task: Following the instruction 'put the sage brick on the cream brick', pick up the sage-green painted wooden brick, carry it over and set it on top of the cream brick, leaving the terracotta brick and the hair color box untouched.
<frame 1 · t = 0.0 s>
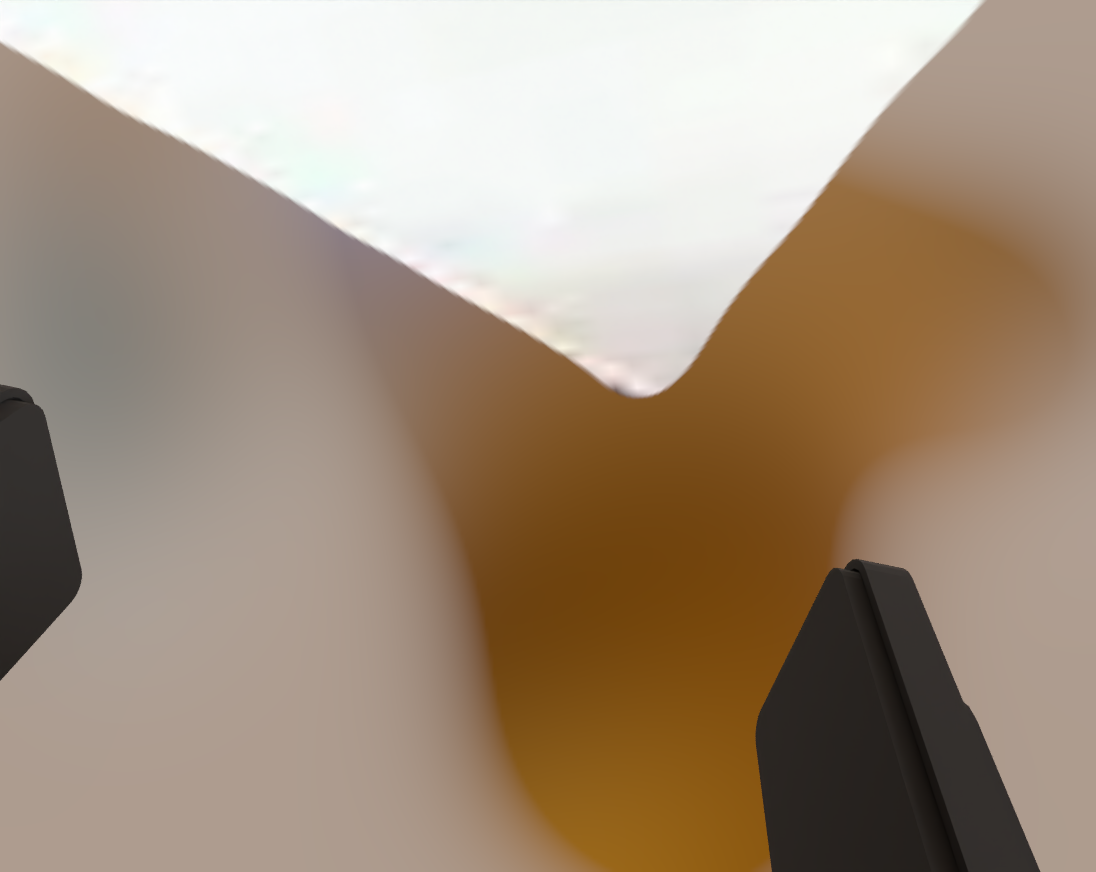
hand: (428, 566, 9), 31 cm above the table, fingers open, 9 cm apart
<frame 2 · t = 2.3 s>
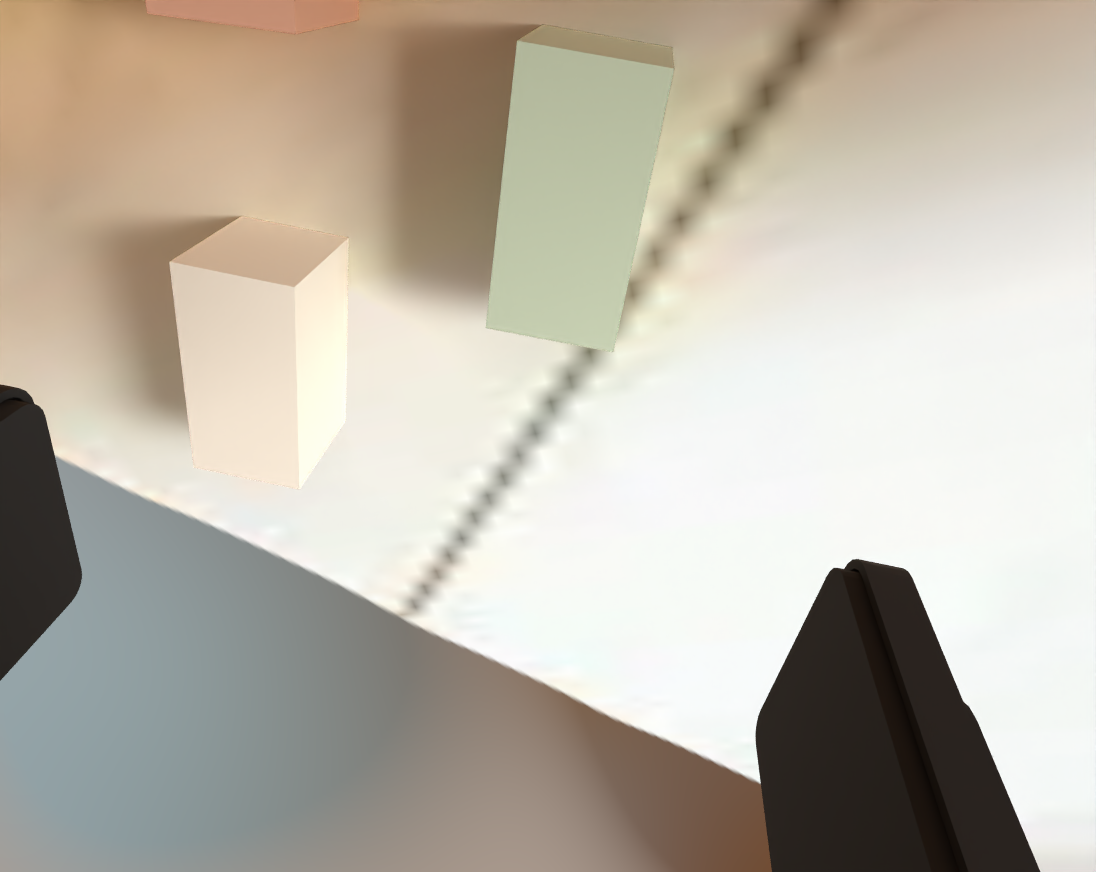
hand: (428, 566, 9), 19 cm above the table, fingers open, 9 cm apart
cream brick: (298, 324, 30), on the table
sage brick: (585, 168, 25), on the table
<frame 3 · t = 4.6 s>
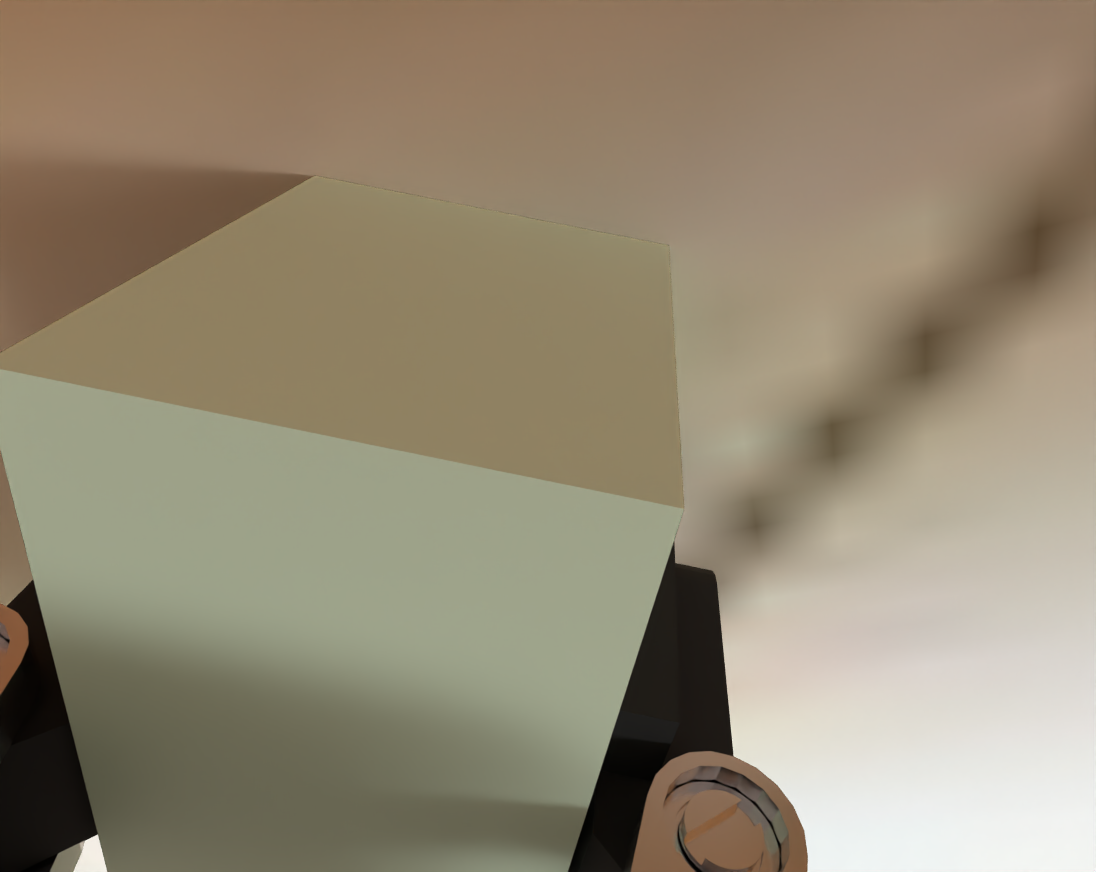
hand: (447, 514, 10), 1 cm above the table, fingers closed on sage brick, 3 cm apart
sage brick: (456, 496, 11), on the table, touching gripper
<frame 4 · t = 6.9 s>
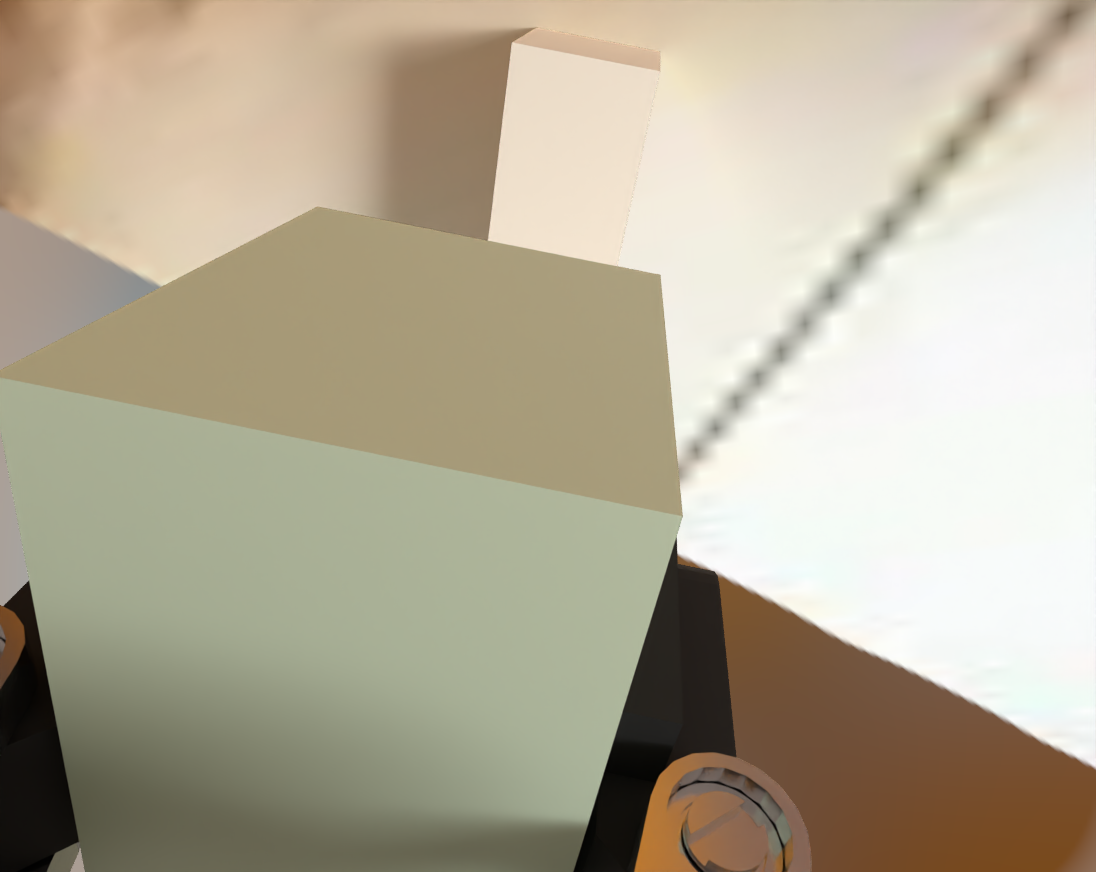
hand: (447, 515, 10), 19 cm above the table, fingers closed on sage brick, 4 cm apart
cream brick: (576, 166, 27), on the table
sage brick: (450, 525, 11), point 19 cm above the table, tilted 5°, touching gripper
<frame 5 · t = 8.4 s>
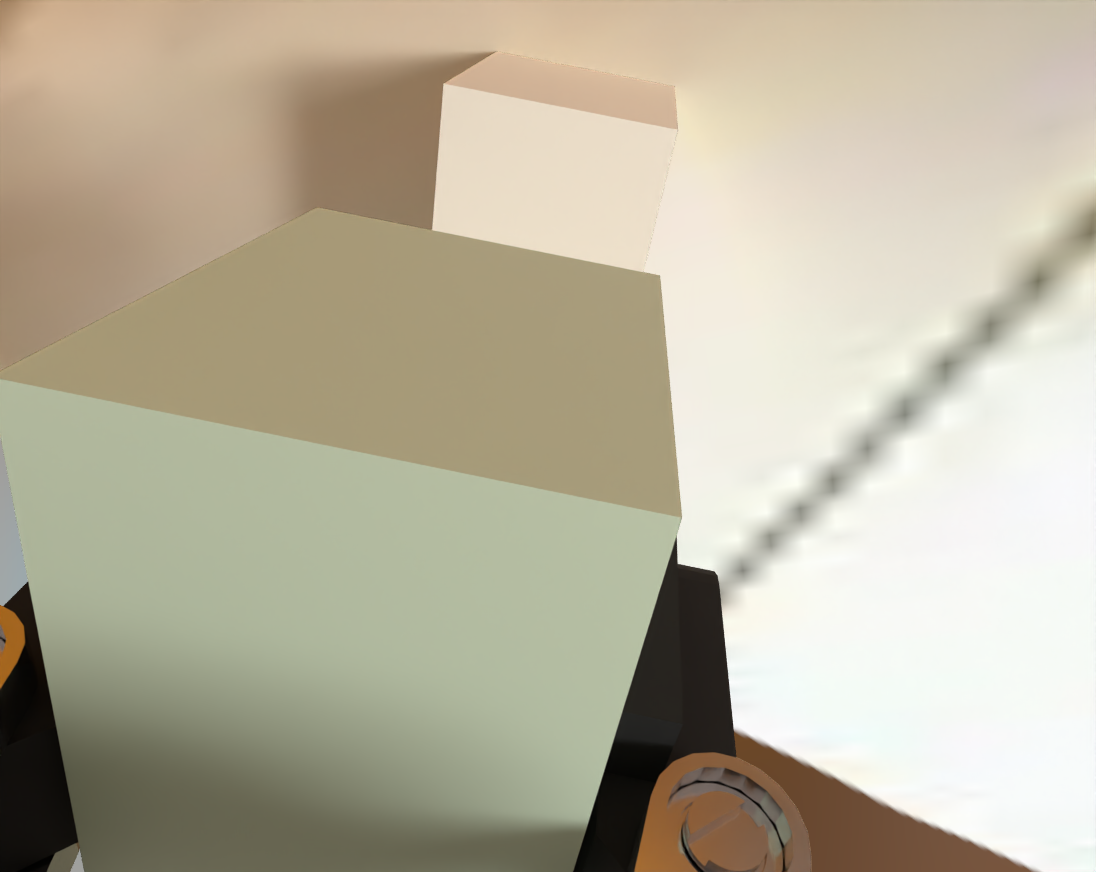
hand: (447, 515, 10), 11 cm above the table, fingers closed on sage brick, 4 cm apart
cream brick: (556, 241, 19), on the table
sage brick: (449, 525, 11), point 10 cm above the table, tilted 5°, touching gripper
when the fingers open (6 cm above the table, at t = 9.6 s): sage brick drops 1 cm, resting on cream brick.
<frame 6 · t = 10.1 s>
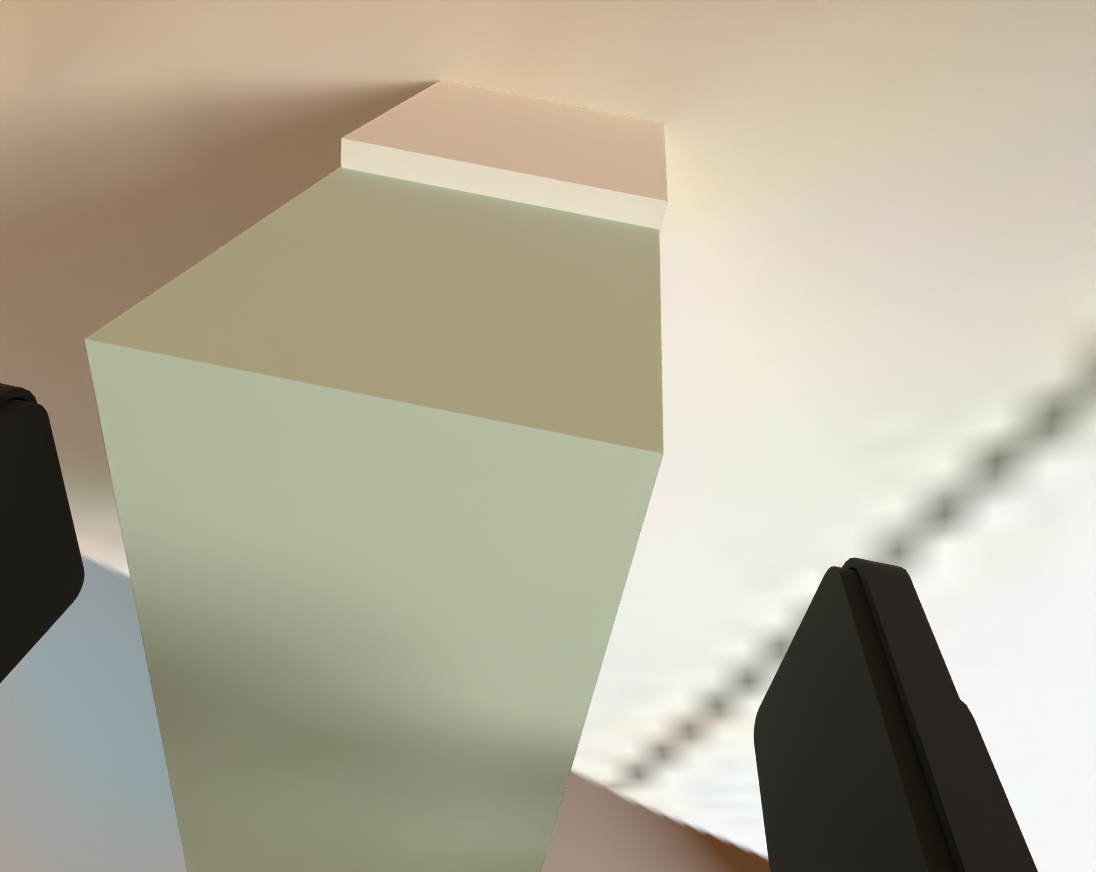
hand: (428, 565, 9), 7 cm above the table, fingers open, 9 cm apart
cream brick: (520, 310, 16), on the table, touching sage brick
sage brick: (466, 461, 12), point 5 cm above the table, touching cream brick
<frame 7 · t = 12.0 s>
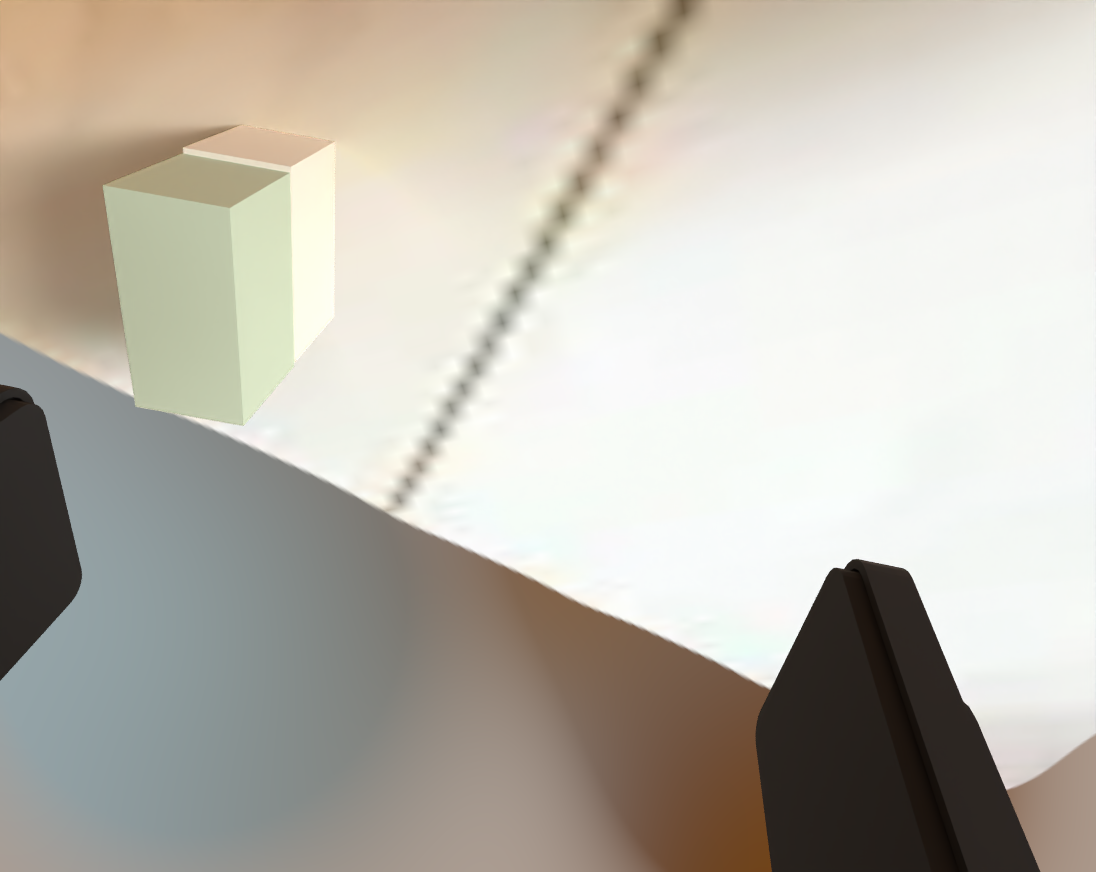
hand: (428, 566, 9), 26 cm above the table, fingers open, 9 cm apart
cream brick: (290, 226, 34), on the table, touching sage brick
sage brick: (242, 267, 30), point 5 cm above the table, touching cream brick
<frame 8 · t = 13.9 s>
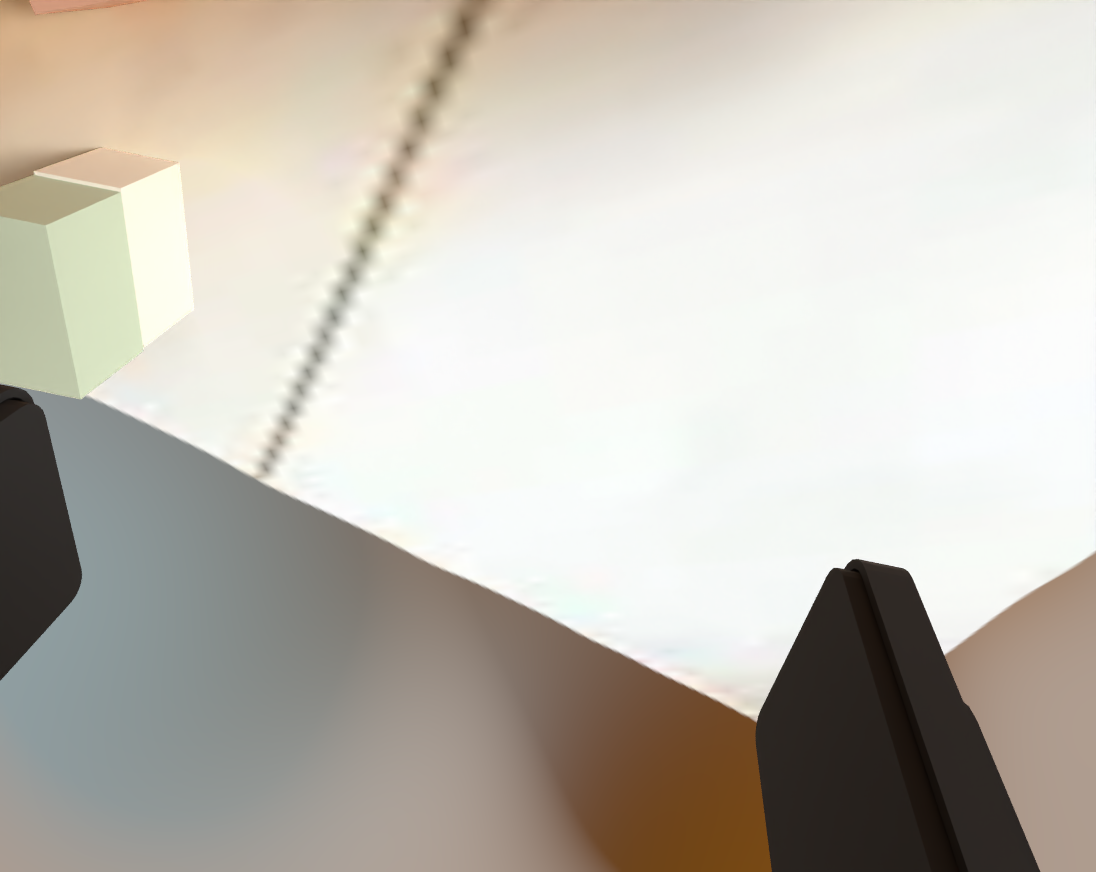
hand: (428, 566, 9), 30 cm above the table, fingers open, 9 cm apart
cream brick: (150, 232, 40), on the table, touching sage brick
sage brick: (91, 267, 36), point 5 cm above the table, touching cream brick
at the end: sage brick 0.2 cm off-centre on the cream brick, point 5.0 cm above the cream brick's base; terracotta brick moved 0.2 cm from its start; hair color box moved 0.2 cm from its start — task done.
